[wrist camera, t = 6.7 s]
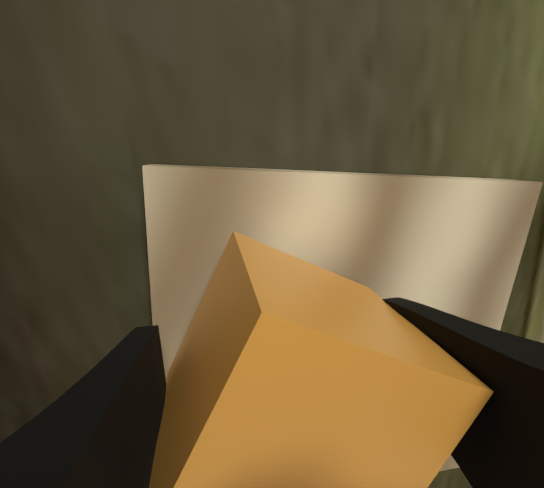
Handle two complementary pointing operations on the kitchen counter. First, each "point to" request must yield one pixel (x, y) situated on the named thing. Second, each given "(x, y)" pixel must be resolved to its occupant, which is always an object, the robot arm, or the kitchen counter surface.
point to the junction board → (339, 235)
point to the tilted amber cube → (306, 385)
